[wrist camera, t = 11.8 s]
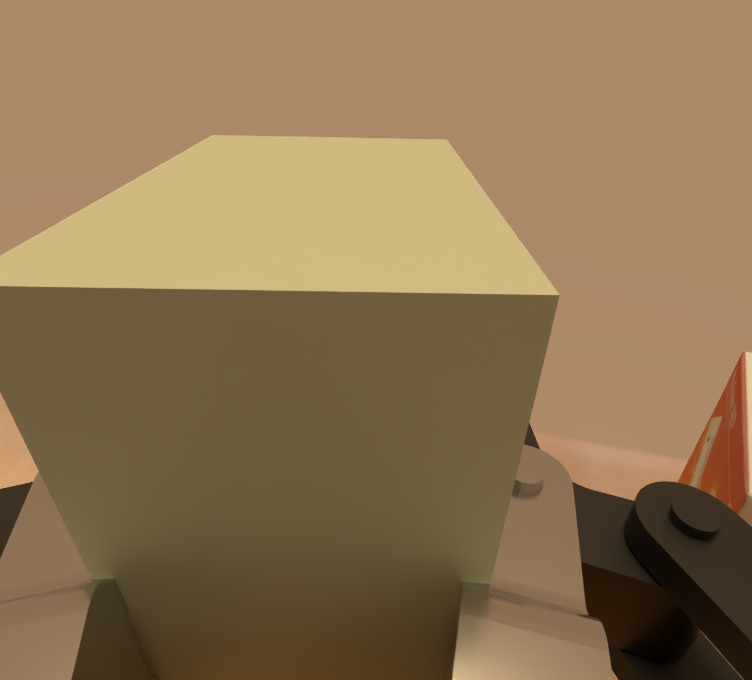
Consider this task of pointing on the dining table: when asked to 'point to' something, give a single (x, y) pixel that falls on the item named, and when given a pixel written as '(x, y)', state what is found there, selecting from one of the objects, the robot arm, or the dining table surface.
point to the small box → (727, 447)
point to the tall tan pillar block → (281, 399)
